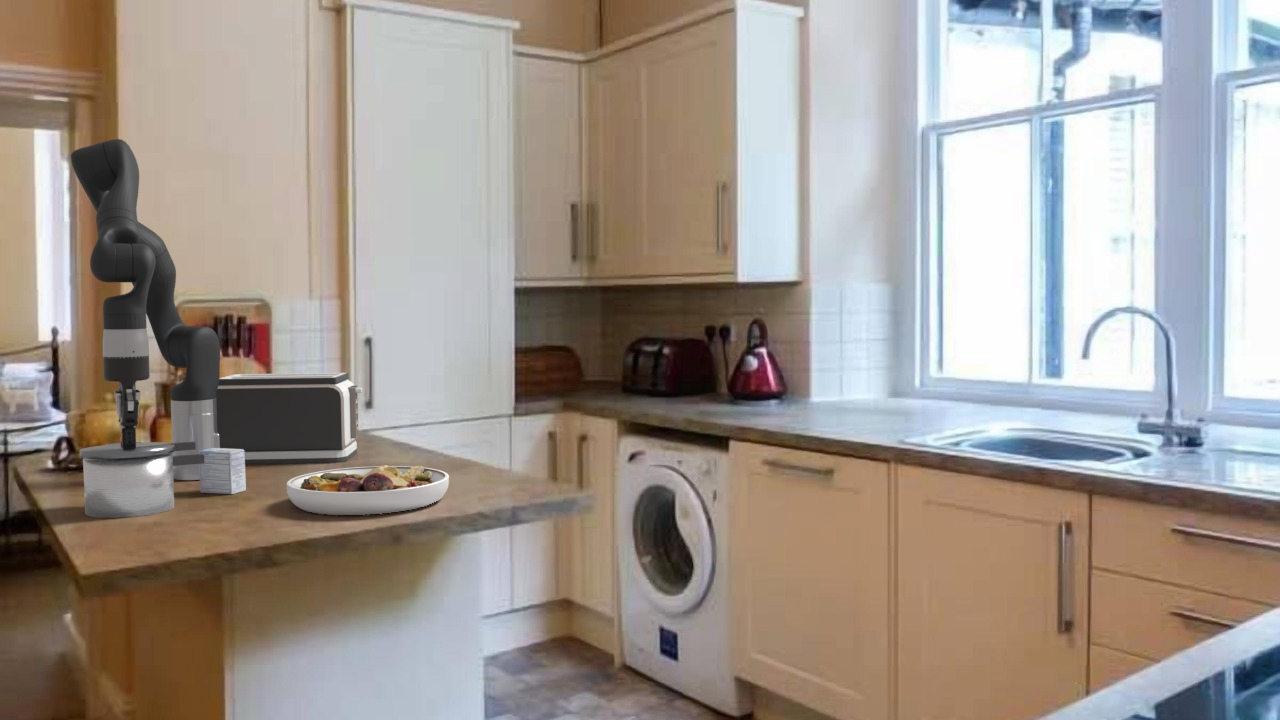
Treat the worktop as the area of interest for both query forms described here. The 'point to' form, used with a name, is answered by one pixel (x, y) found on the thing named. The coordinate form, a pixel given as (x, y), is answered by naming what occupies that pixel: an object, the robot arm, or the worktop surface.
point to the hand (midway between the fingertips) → (129, 449)
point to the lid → (134, 450)
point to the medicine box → (223, 471)
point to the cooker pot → (131, 485)
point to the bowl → (367, 489)
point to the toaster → (288, 417)
